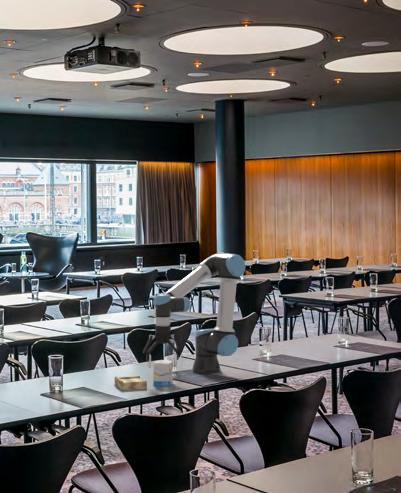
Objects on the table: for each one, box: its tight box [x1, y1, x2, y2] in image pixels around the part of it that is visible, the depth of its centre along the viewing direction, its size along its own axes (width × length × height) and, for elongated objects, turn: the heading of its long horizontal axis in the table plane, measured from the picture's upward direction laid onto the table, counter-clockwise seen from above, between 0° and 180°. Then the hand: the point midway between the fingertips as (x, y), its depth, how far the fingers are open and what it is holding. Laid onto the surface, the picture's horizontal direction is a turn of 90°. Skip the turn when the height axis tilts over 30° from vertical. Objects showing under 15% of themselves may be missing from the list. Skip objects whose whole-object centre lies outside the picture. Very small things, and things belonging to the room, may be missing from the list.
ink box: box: [152, 359, 174, 387], centre depth 454 cm, size 9×8×12 cm
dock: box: [114, 375, 148, 392], centre depth 449 cm, size 13×14×4 cm
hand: (162, 367), depth 454 cm, fingers open, 13 cm apart
